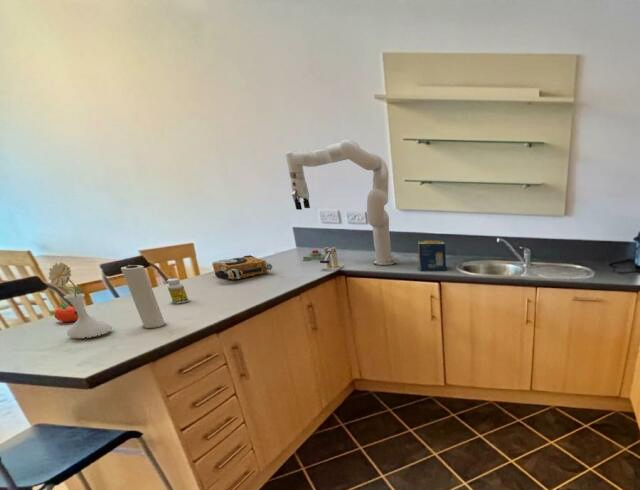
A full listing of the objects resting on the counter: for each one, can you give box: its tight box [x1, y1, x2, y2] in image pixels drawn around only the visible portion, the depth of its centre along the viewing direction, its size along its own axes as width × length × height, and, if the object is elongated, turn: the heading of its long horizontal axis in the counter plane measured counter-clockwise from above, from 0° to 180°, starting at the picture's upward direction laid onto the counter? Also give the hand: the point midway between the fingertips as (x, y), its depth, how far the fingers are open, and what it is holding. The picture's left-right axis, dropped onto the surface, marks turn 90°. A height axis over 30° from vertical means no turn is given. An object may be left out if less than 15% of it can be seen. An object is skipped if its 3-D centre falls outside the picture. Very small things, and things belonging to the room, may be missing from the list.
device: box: [211, 254, 273, 280], centre depth 216 cm, size 23×8×30 cm
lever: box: [319, 247, 332, 264], centre depth 232 cm, size 12×5×2 cm, turn 179°
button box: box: [302, 251, 325, 262], centre depth 260 cm, size 12×10×4 cm
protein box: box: [417, 240, 447, 272], centre depth 245 cm, size 10×15×16 cm
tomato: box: [53, 303, 78, 323], centre depth 152 cm, size 7×8×6 cm
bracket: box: [322, 246, 344, 270], centre depth 237 cm, size 10×8×12 cm
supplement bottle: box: [166, 277, 189, 304], centre depth 175 cm, size 5×5×10 cm
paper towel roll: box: [120, 264, 165, 329], centre depth 147 cm, size 7×6×21 cm
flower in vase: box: [48, 261, 113, 339], centre depth 136 cm, size 13×11×25 cm
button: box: [311, 249, 320, 253], centre depth 259 cm, size 4×4×2 cm
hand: (303, 208), depth 242 cm, fingers open, 9 cm apart
